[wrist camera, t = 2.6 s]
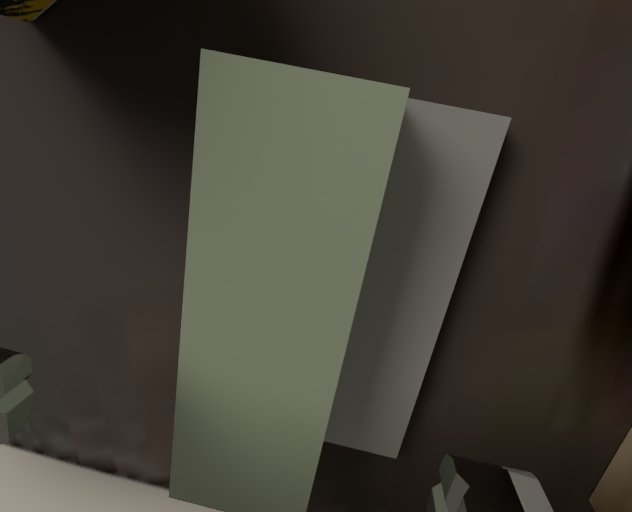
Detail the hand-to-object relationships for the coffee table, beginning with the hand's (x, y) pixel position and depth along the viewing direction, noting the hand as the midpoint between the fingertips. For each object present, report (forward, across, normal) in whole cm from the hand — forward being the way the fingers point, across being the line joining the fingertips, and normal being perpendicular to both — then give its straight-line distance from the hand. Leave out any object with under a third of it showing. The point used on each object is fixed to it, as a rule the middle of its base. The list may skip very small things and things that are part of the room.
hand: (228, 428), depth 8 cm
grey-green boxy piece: (+7, -2, -1) cm, 7 cm away
